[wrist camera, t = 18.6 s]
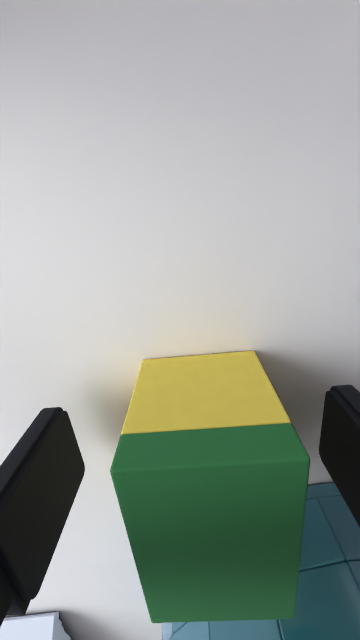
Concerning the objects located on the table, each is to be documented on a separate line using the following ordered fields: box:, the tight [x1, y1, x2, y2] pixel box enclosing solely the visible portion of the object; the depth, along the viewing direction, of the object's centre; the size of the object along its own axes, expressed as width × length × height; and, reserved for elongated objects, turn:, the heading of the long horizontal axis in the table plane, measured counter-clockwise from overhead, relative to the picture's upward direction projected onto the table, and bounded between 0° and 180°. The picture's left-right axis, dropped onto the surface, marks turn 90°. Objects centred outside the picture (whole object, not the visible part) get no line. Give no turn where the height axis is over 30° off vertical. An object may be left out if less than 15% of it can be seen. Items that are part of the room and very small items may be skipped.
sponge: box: [110, 351, 310, 623], centre depth 8 cm, size 6×4×4 cm, turn 6°
